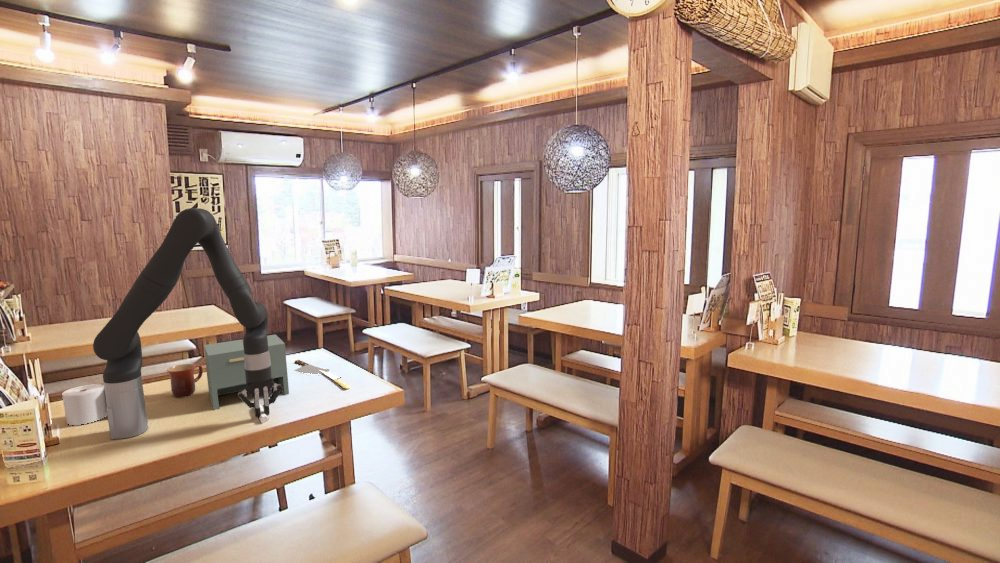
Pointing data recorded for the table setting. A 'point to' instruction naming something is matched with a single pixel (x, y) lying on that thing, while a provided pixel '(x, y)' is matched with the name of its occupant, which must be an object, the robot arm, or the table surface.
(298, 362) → the kitchen cleaver
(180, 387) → the mug
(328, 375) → the knife
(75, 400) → the toilet tissue
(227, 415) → the table surface
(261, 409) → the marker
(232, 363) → the cabinet
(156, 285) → the robot arm
